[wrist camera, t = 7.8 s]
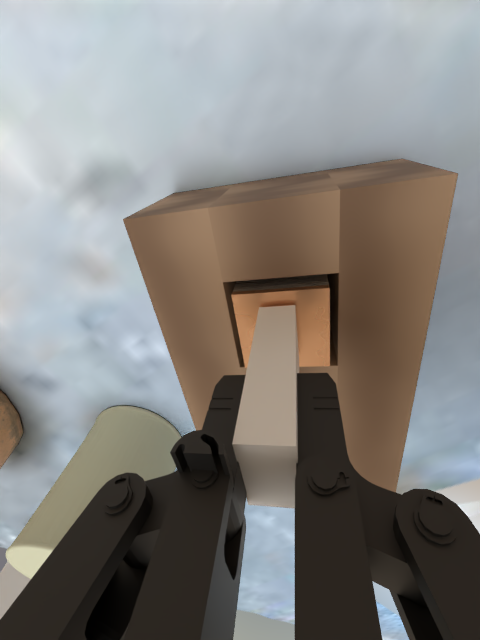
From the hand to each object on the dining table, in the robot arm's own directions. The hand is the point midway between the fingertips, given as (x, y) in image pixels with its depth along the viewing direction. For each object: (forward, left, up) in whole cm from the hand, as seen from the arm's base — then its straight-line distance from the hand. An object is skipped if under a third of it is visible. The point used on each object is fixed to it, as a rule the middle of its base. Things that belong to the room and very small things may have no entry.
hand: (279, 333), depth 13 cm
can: (+16, +17, -7) cm, 24 cm away
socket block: (0, +5, -7) cm, 8 cm away
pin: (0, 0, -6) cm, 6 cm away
